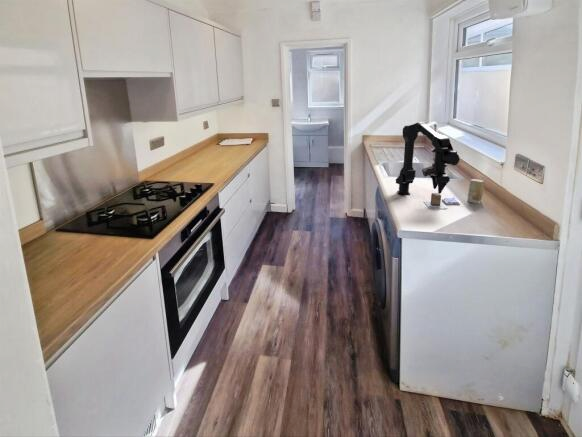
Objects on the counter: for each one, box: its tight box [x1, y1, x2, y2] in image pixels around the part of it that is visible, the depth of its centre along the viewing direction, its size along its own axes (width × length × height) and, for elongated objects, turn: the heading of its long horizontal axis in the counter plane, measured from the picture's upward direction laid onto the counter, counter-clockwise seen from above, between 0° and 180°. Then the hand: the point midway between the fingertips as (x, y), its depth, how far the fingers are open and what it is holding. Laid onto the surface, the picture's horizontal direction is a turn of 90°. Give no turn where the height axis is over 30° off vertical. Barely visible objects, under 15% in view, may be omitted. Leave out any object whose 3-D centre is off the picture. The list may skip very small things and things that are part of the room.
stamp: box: [430, 192, 442, 206], centre depth 222 cm, size 4×4×6 cm
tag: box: [423, 201, 448, 210], centre depth 223 cm, size 12×9×1 cm
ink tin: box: [441, 197, 461, 206], centre depth 228 cm, size 9×7×1 cm
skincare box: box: [467, 178, 485, 204], centre depth 226 cm, size 6×4×12 cm
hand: (437, 191), depth 220 cm, fingers open, 9 cm apart
